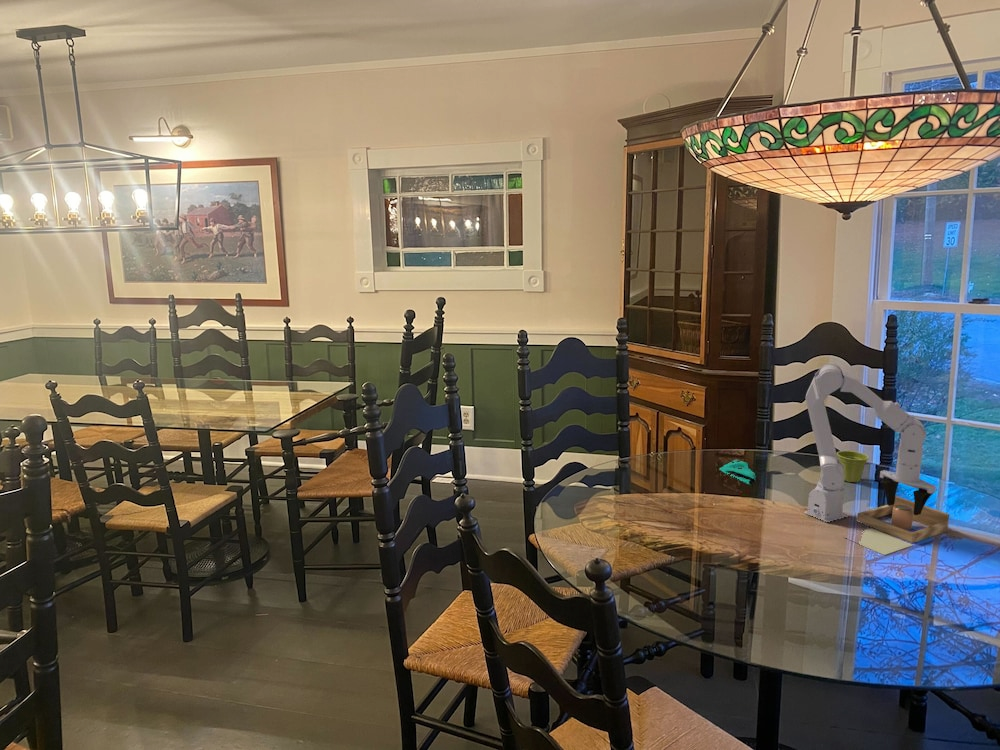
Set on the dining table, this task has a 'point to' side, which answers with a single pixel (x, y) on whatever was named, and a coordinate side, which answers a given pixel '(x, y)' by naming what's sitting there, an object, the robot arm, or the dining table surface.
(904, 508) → the terracotta pot
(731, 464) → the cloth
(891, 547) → the potting mat
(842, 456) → the plant pot
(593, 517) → the dining table surface
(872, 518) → the cold frame
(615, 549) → the dining table surface
